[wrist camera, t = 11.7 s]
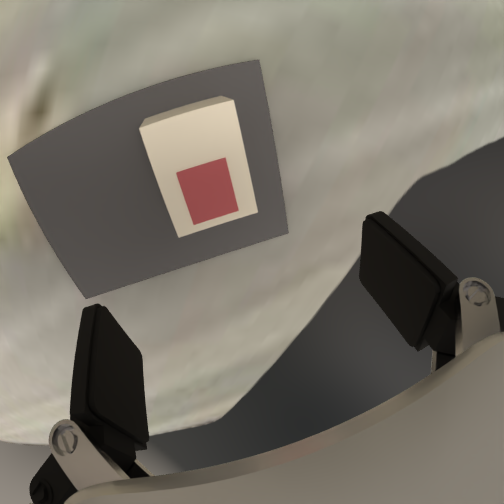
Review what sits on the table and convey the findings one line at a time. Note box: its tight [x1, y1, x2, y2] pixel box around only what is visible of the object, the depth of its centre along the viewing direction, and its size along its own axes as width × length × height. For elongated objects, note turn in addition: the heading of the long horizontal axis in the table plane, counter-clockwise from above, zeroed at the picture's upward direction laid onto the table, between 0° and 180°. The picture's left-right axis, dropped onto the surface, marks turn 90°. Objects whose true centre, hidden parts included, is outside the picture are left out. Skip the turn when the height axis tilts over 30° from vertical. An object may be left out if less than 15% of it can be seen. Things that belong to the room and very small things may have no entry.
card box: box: [139, 96, 258, 238], centre depth 22 cm, size 9×6×5 cm
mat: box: [7, 60, 289, 299], centre depth 24 cm, size 24×18×1 cm
